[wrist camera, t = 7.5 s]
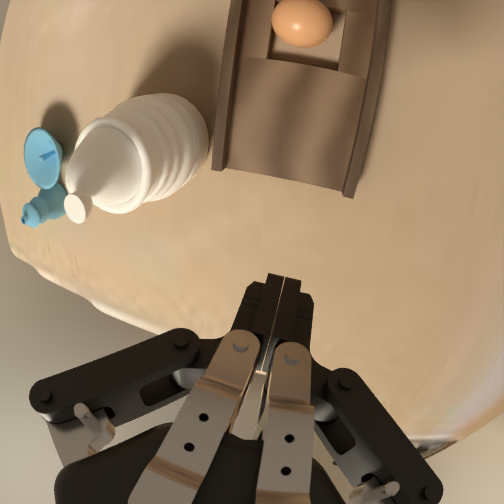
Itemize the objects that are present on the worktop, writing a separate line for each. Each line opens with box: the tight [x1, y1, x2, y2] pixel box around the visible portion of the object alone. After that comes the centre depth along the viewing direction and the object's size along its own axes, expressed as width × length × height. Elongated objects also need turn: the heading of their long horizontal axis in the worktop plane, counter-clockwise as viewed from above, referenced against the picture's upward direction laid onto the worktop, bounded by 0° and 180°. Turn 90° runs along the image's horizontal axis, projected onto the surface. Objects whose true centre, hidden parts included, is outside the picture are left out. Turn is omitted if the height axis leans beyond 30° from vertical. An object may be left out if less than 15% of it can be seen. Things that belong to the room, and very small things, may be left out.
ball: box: [271, 0, 333, 48], centre depth 20 cm, size 6×6×6 cm
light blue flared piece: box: [21, 127, 67, 228], centre depth 35 cm, size 18×10×9 cm, turn 160°
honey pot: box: [64, 93, 209, 224], centre depth 26 cm, size 13×13×18 cm
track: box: [211, 0, 391, 199], centre depth 24 cm, size 16×28×3 cm, turn 173°
